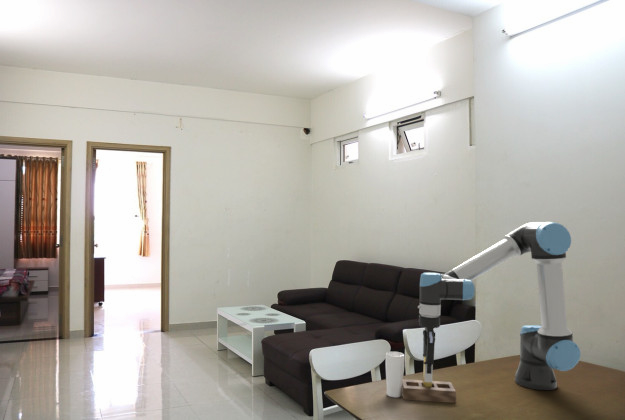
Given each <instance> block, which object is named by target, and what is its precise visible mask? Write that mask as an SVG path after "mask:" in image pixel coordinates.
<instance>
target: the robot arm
mask: <svg viewBox="0 0 625 420" xmlns="http://www.w3.org/2000/svg"><path fill="white" fill-rule="evenodd" d="M571 243H572V237H571V234H570V232H569V230H568V229H567V228H566V227H565V226H564V225H562V224H560V223H559V222H554V221H530V222H528V223H527V222H526V223H524V224H522V225H521V226H519V227H517V228H516V229H514V230H512V231H510V232H509V233H507V234H505V235H504V237H503V239H501V240H500V241H498V242H497V243H495V244H493V245H491V246H490V247H488V248H486V249H485V250H483V251H481V252H480V253H477V254H476V255H474V256H472V257H471V258H469V259H467V260H466V261H464V262H463V263H461V264H459V265H458V266H455V267H454V268H452V269H451V270H448V271H446V272H444V273H439V272H429V271H428V272H423V273H421V274H420V278H419V305H418V306H417V309H419V311H418V313H419V315H418V326H419V327H422V328H424V329H422V336H423V337H422V339H423V342H422V345H423V347H422V352H423V353H422V357H423V358H424V357H425V356H426V362H424V361H423V365H424V364H425V377H424V382H432V381H433V377H432V375H433V371H434V366H433V365H434V363H435V362H434V361H435V345H436V344H435V342H436V332H435V331H434V329H438V328H440V327H441V317H440V316H441V307H442V305H441V303H442V302H441V301H442V300H450V301H451V300H455V301H470V300H472V299H473V298H474V296H475V289H476V288H475V285H474V282H473V281H474V280H475V279H477V278H478V277H481V276H482V275H484V274H485V273H487V272H490V271H491V270H493V269H494V268H496V267H498V266H500V265H502V263H505V262H506V261H508V260H510V259H511V258H514V257H521V256H522V255H525V254H526V253H530V256H531V260H532V261H533V262H535V265H536V273H537V274H536V276H537V286H538V300H539V310H540V313H539V314H540V321H541V322H540V323H541V325H532V324H531V325H530V324H529V325H527V324H526V325H522V327H521V328H520V335H519V336H520V341H519V342H520V344H519V345H520V350H519V351H520V352H519V355H520V356H519V364H518V366H517V367H518V368H517V369H516V372H515V374H514V375H515V376H514V381H515V383H516V384H518V385H519V386H521V387H525V388H527V389H531V390H537V391H539V390H540V391H553V390H555V389H557V388H558V385H557V384H558V382H557V381H558V380H557V378H556V375H555V372H554V370H557V371H561V372H567V371H570V370H572V369H574V368H575V366H576V365H578V364H579V361H580V359H581V350H580V347H579V346H578V344H577V343H576V342H575V341H574V336H573V331H572V330H571V329H570V328H569V327H568V321H567V309H566V296H565V282H564V272H563V262H564V261H565V260H566V259H567V254H566V253H567V251H568V249H569V248H570V247H571ZM422 372H423V374H422V375H424V367H423V371H422Z"/></svg>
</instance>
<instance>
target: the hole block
mask: <svg viewBox="0 0 625 420" xmlns="http://www.w3.org/2000/svg"><path fill="white" fill-rule="evenodd" d="M456 391H457V390H456V389H455V387H454V385H453V384H452V382H451V381H439V380H438V381H437V380H432V387H423V379H422V380H421V379H409V378H408V379H407V378H406V379H404V378H403V382H402V394H401V395H402V398H403V400H405V401H407V400H408V401H409V400H410V401H411V400H412V401H420V402H439V403H449V404H450V403H453V404H456V399H457V395H456V394H457V392H456Z"/></svg>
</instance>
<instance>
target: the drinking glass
mask: <svg viewBox="0 0 625 420" xmlns="http://www.w3.org/2000/svg"><path fill="white" fill-rule="evenodd" d="M404 373H405V354H404V353H403V352H399V351H388V352H386V353H385V379H386V380H385V383H386V395H387V396H388V397H390V398H400V397H402V395H403V394H402V382H403V379H404Z"/></svg>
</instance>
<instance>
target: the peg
mask: <svg viewBox="0 0 625 420" xmlns="http://www.w3.org/2000/svg"><path fill="white" fill-rule="evenodd" d="M424 362H426V356H425V357H423V368H424V375H423V374H422V375H423V376H422V377H423V378H422V380H423V387H432V382H424V377H425V364H424ZM432 378H433V375H432Z"/></svg>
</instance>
